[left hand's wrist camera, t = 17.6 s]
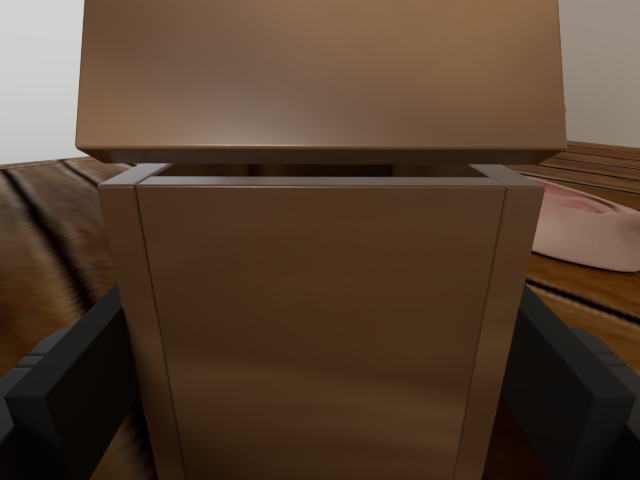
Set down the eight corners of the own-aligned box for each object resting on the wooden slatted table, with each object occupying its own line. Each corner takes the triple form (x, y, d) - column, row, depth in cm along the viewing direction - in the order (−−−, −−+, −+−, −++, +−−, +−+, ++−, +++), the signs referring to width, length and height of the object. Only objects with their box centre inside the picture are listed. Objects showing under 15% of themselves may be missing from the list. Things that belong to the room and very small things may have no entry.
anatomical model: (700, 227, 27) (510, 207, 30) (680, 281, 28) (501, 255, 32) (637, 182, 38) (505, 172, 42) (625, 222, 39) (498, 208, 43)
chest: (246, 285, 28) (233, 117, 23) (393, 285, 28) (406, 117, 23) (165, 517, 13) (94, 184, 9) (474, 518, 13) (547, 186, 9)
